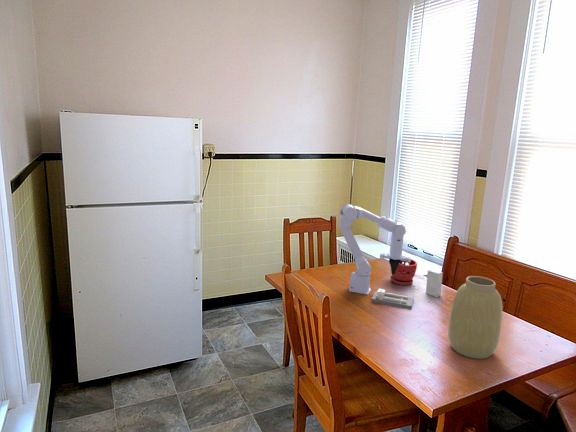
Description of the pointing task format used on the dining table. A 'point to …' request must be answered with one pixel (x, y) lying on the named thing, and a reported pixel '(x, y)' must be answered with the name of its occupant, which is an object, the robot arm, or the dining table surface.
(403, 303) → the board
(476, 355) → the vase
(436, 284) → the skincare box
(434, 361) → the dining table surface
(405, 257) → the robot arm
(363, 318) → the dining table surface
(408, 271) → the plant pot
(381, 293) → the fader tab
